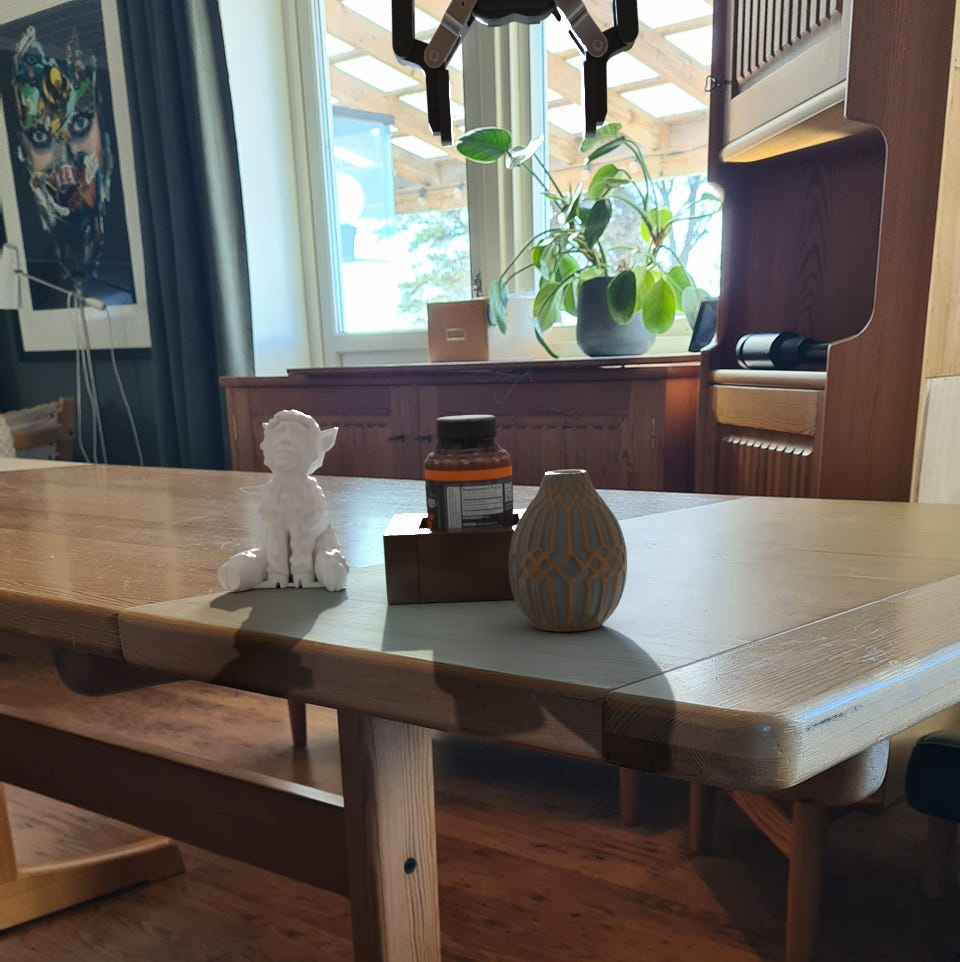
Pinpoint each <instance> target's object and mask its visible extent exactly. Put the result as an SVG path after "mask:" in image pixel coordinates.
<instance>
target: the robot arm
mask: <svg viewBox="0 0 960 962" xmlns="http://www.w3.org/2000/svg"><path fill="white" fill-rule="evenodd" d="M415 2H416V0H391V5H390V6H391V46H392V51H393V55H394V57H395V60H396V62H397V63H398V64H399V65H400V66H404V67H407V66H408V67H410V68H413V69H415V70H419V71H420V72H422V74H423V75H424V78H425V88H426V89H425V92H426V107H427V108H426V109H427V122H428V123H427V124H428V127H429V129H430V131H431V133H432V136H433V137H438V136H439V137H440V144H441V147H454V131H453V129H454V128H453V127H454V126H453V113H452V112H453V111H452V95H451V94H452V93H451V92H452V91H451V76H450V70H449V69H447V68H448V66H449V64H450V62H451V61H452V59H453V57H454V55H455V53H456V52H457V50H458V48H459V47H460V45H461V44H463V42H464V40H465V39H466V37H467V35H468V33H469V32H470V30H471V28H472V26H474V23H475V21H477V22H479V23H481V24H483V25H486V27H487V28H499V27H503V26H506V25H508V24H511V23H518V24H522V25H526V26H528V25H529V26H530V25H540V24H541V22H542V21H544V20H546V19H547V18H549V17H550V16H551V17H552V18H553V20H554V21H555V22H556V23H557V25H558V26H559V28H560V29H561V31H562V32H563V34H565V36H566V37H568V38H569V40H570V41H571V42H572V43H573V45H574V46H575V48H576V49H577V51H578V52H579V54H580V55H581V56H582V58H583V61H582V65H581V68H580V85H581V126H582V129H581V131H582V132H581V133H582V138H583V139H588V138H589V139H590V138H591V139H592V138H595V137H596V135H597V127H603V125H604V123H605V121H606V118H607V114H608V63H609V61H610V60H611V59H612V58H613V57H615V56H617V55H619V54H621V53H626V52H628V51H630V50H631V49H632V48H633V47H634V45H635V42H636V40H637V38H638V37H639V33H640V26H639V9H638V0H611V12H612V14H611V15H612V26H611V27H609V28H607V29H605V30H603V31H602V30H601V29H600V27H599V26H598V24H597V23H596V22H595V20H594V18H593V17H592V16H591V14H590V13H589V12H588V9H587V7H586V5H585V2H584V1H583V0H451V1H450V3H449V5H448V7H447V8H446V10H445V11H444V13H443V16H442V19H441V21H440V23H439V25H438V27H437V28H436V30H435V32H434V34H433V36H432V37H431V39H430V41H429V42H425V41H422V40H420V39H417V38H416V16H415V15H416V5H415V4H416V3H415Z"/></svg>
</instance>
